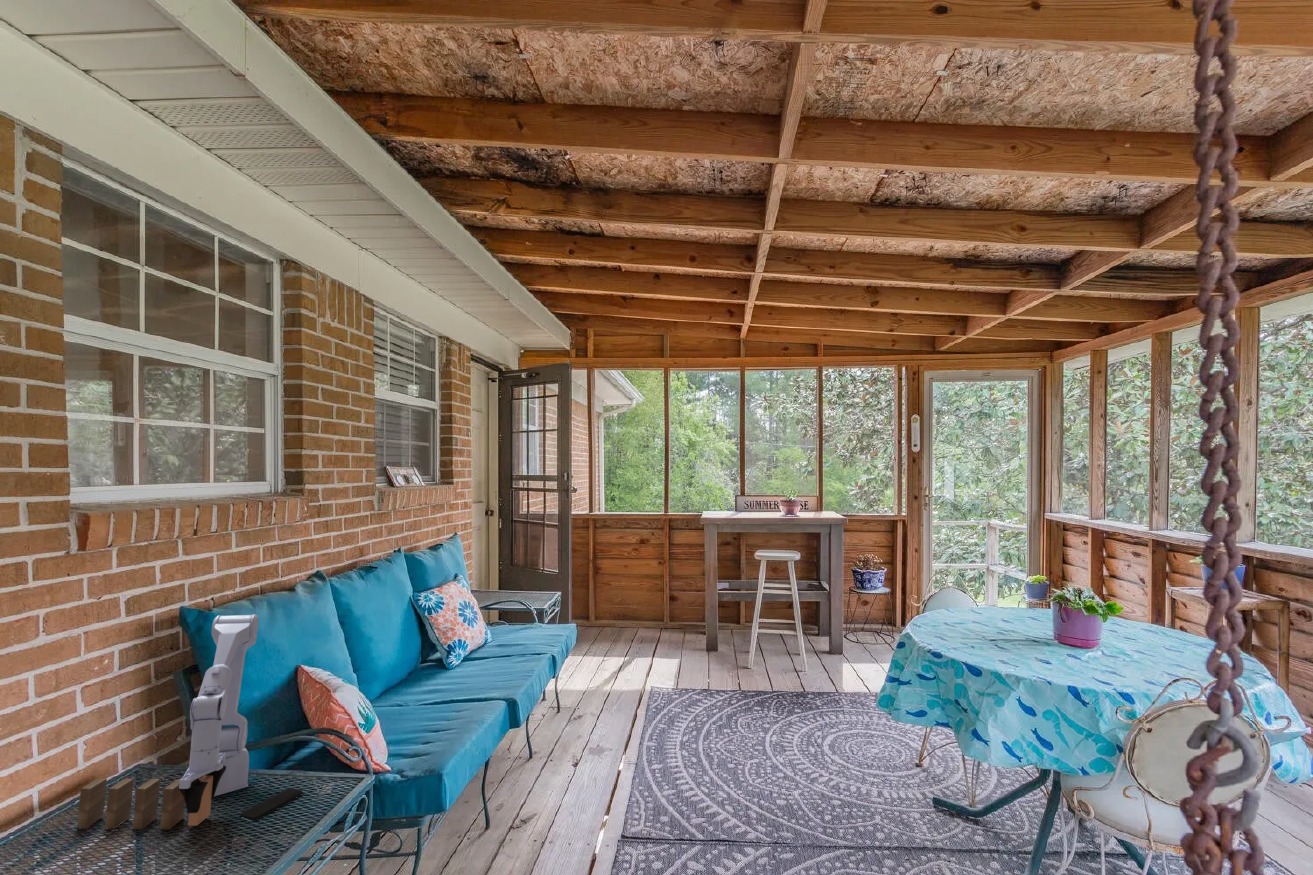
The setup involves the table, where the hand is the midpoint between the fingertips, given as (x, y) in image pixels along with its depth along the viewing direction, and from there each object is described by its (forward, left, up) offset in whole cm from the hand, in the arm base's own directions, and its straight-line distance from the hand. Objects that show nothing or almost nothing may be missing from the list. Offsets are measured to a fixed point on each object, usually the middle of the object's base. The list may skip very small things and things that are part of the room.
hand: (200, 806), depth 153 cm
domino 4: (+4, -4, -4) cm, 7 cm away
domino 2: (+13, -13, -4) cm, 18 cm away
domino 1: (+17, -17, -4) cm, 24 cm away
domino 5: (0, 0, -3) cm, 3 cm away
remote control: (-15, +3, -5) cm, 16 cm away
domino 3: (+8, -9, -4) cm, 13 cm away
